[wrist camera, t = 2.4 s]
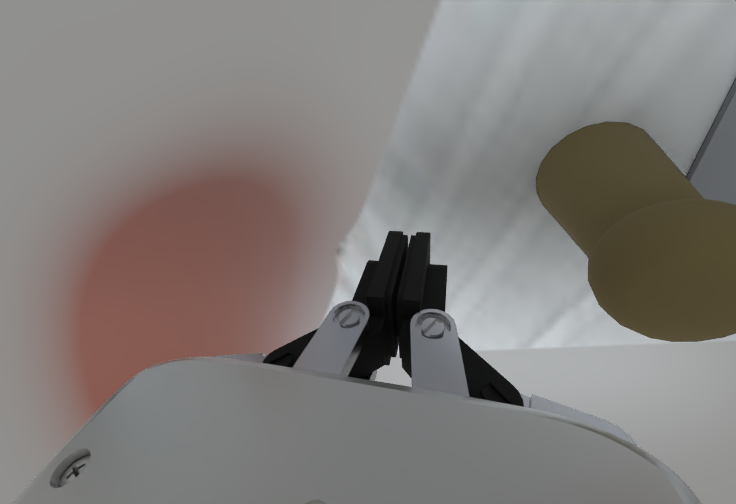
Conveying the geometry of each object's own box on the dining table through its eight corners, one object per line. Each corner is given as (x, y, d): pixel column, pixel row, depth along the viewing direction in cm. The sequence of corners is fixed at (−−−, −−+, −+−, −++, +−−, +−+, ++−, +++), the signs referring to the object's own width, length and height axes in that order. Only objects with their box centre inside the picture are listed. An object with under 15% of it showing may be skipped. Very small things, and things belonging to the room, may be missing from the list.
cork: (638, 219, 19) (781, 378, 10) (529, 221, 21) (574, 357, 12) (676, 115, 16) (933, 220, 7) (543, 127, 18) (619, 222, 9)
